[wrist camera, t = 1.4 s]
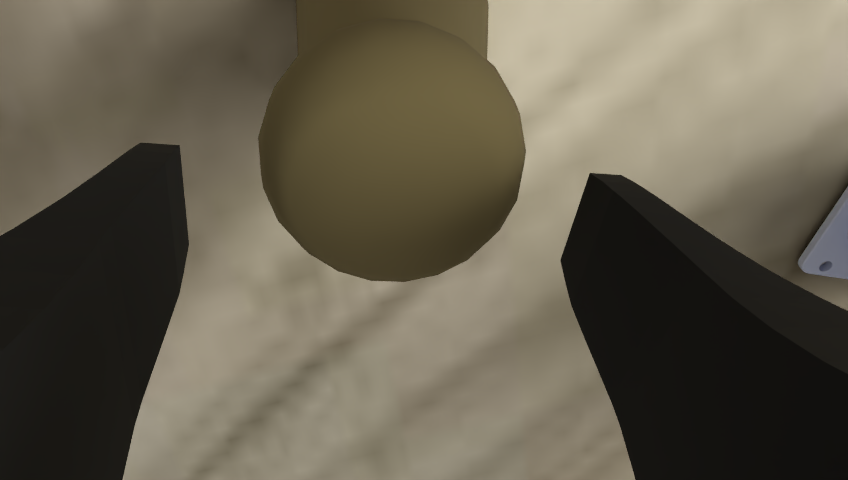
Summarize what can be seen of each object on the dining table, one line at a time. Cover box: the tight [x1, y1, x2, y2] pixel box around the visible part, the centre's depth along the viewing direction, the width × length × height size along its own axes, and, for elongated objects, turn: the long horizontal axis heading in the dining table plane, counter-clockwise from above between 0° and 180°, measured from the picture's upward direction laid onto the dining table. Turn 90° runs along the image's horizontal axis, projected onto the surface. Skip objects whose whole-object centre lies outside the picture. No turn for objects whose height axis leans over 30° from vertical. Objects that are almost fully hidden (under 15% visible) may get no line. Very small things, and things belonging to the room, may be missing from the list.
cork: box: [258, 0, 526, 282], centre depth 16 cm, size 6×6×11 cm
